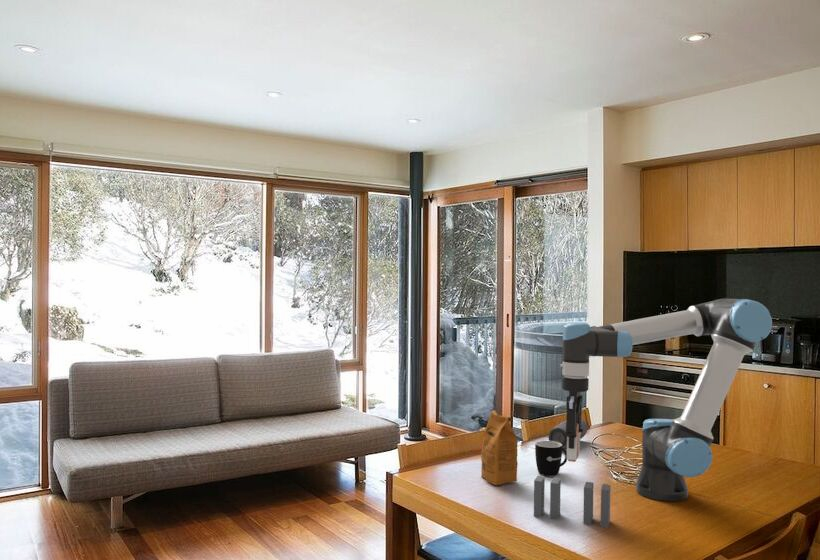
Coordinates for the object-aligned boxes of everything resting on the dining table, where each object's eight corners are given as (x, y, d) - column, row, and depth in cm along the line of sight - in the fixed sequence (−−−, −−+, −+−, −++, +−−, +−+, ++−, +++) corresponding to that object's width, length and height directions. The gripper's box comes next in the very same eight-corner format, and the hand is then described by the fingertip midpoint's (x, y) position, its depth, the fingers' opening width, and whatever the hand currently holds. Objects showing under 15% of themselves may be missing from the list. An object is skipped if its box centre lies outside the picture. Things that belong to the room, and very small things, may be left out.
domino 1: (544, 511, 184) (544, 476, 184) (540, 517, 179) (541, 481, 179) (537, 510, 185) (537, 475, 185) (533, 516, 180) (534, 480, 180)
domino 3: (577, 457, 188) (578, 423, 188) (575, 462, 184) (575, 427, 184) (570, 456, 189) (571, 422, 189) (568, 461, 185) (568, 426, 184)
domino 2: (560, 513, 182) (560, 478, 182) (557, 519, 178) (557, 483, 178) (553, 512, 183) (553, 477, 183) (549, 518, 178) (550, 482, 178)
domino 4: (592, 518, 179) (593, 482, 179) (590, 524, 174) (591, 488, 174) (585, 517, 180) (586, 481, 180) (583, 523, 175) (583, 487, 175)
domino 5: (609, 521, 177) (610, 484, 177) (608, 527, 173) (608, 490, 173) (602, 519, 178) (602, 483, 178) (600, 526, 173) (601, 489, 173)
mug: (543, 478, 214) (544, 448, 214) (529, 470, 222) (530, 441, 222) (574, 475, 218) (575, 445, 218) (559, 467, 227) (560, 439, 226)
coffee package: (503, 473, 219) (504, 408, 219) (520, 484, 208) (521, 416, 207) (476, 475, 216) (477, 410, 216) (492, 487, 204) (493, 418, 204)
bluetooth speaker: (570, 454, 244) (570, 428, 244) (546, 450, 249) (547, 424, 249) (589, 441, 263) (589, 417, 263) (566, 438, 269) (567, 414, 268)
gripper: (567, 371, 196) (565, 447, 196) (556, 379, 179) (554, 463, 180) (592, 373, 193) (590, 451, 193) (583, 382, 176) (581, 466, 177)
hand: (573, 456), depth 186 cm, fingers closed on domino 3, 5 cm apart
